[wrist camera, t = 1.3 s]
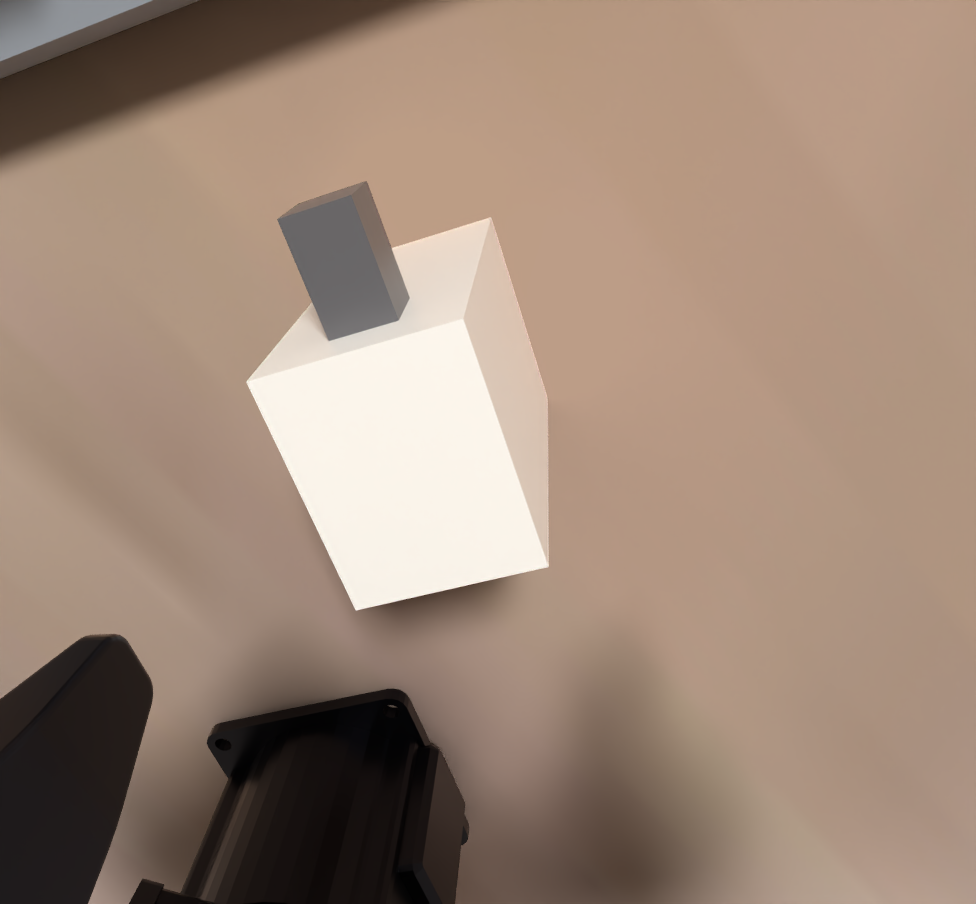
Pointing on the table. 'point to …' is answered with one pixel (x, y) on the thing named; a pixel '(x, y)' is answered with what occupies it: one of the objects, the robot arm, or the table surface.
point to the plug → (409, 404)
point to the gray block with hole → (66, 26)
